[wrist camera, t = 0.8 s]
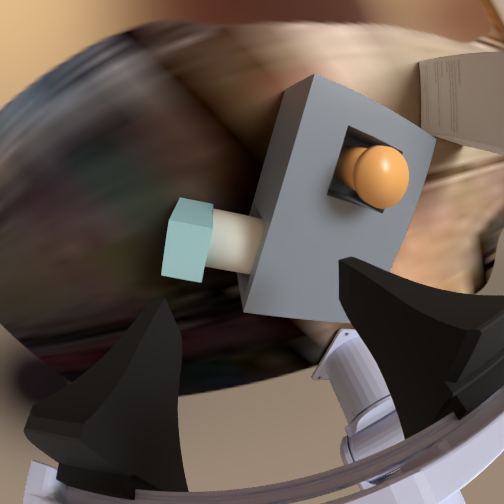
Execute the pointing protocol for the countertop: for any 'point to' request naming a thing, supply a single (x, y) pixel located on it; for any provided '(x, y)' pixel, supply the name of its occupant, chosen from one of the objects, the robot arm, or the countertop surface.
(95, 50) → the countertop surface
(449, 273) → the countertop surface
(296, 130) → the housing
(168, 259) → the cartridge
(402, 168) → the plunger
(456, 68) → the supplement box
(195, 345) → the countertop surface
